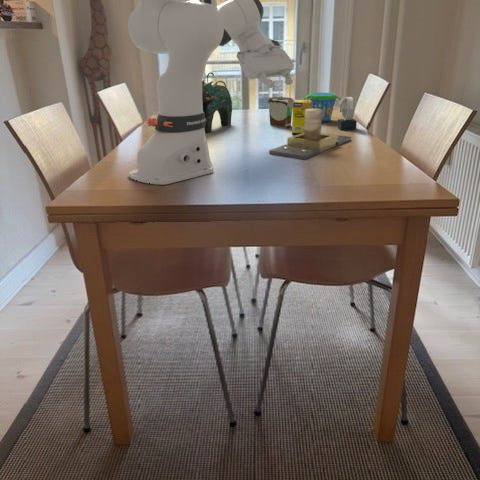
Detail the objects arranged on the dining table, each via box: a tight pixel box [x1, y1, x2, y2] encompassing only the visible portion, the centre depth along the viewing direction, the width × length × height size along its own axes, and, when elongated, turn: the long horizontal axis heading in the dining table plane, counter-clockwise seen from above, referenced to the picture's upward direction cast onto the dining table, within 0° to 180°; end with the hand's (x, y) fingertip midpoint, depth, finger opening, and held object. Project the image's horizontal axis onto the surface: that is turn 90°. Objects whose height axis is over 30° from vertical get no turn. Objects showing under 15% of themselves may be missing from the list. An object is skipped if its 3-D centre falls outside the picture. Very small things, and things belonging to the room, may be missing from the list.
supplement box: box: [291, 99, 311, 136], centre depth 153 cm, size 6×6×11 cm
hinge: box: [268, 132, 352, 160], centre depth 137 cm, size 29×12×3 cm, turn 142°
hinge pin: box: [304, 109, 322, 141], centre depth 135 cm, size 5×5×11 cm
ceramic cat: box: [202, 72, 233, 134], centre depth 163 cm, size 20×6×20 cm, turn 150°
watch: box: [337, 96, 358, 131], centre depth 159 cm, size 6×8×11 cm
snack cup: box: [302, 92, 342, 123], centre depth 174 cm, size 16×10×10 cm
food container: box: [267, 96, 295, 129], centre depth 167 cm, size 12×6×10 cm, turn 34°
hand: (281, 85), depth 138 cm, fingers open, 8 cm apart
